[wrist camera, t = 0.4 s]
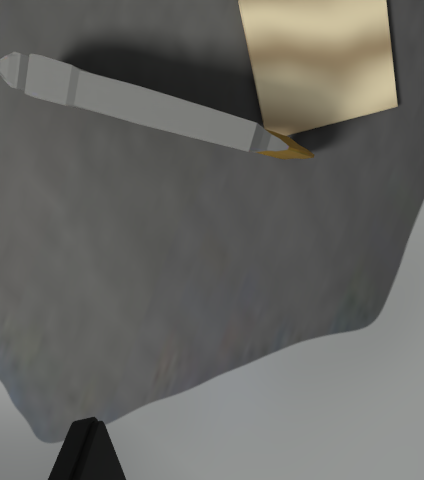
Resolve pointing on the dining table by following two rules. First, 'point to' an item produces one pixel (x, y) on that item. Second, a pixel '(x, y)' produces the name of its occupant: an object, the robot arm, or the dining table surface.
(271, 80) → the board
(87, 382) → the dining table surface
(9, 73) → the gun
